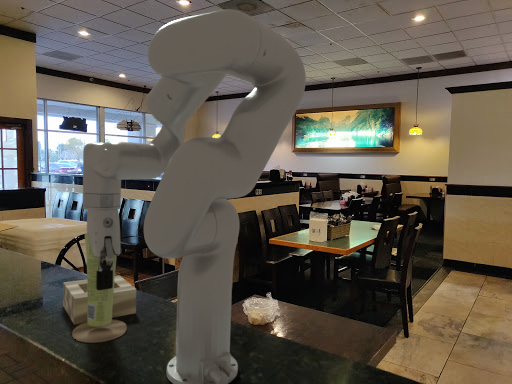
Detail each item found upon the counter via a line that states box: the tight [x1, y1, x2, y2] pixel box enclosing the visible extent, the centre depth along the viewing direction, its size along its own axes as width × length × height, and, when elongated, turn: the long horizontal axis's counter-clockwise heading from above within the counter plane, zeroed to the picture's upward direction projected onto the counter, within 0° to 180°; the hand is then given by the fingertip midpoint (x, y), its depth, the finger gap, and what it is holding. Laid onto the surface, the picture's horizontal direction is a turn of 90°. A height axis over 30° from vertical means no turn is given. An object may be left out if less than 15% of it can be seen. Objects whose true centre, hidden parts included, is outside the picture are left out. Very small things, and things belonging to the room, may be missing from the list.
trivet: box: [71, 319, 128, 344], centre depth 84 cm, size 11×11×1 cm
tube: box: [84, 232, 117, 327], centre depth 84 cm, size 6×5×20 cm
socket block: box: [62, 275, 137, 326], centre depth 97 cm, size 14×14×6 cm
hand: (101, 284), depth 84 cm, fingers closed on tube, 4 cm apart
